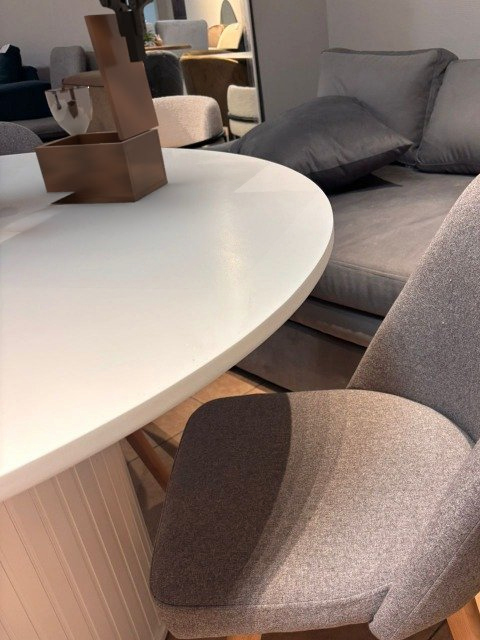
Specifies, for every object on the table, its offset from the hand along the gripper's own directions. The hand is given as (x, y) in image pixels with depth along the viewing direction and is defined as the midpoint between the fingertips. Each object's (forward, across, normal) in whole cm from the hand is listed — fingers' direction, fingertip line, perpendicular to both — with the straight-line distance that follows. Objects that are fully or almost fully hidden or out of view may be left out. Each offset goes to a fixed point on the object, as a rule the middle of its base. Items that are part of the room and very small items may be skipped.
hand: (138, 61), depth 96 cm
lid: (+2, -3, 0) cm, 4 cm away
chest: (+19, -10, 0) cm, 22 cm away
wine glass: (+20, -25, +18) cm, 36 cm away
